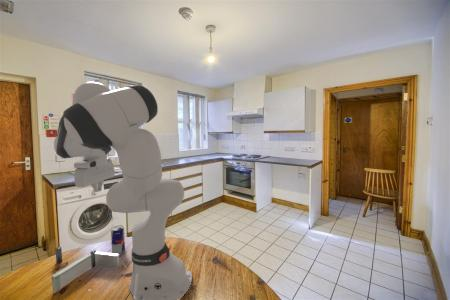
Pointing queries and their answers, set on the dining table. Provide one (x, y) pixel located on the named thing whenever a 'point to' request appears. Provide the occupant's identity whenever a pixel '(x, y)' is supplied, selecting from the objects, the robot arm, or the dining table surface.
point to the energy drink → (118, 240)
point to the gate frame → (96, 259)
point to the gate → (71, 272)
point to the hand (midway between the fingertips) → (97, 191)
